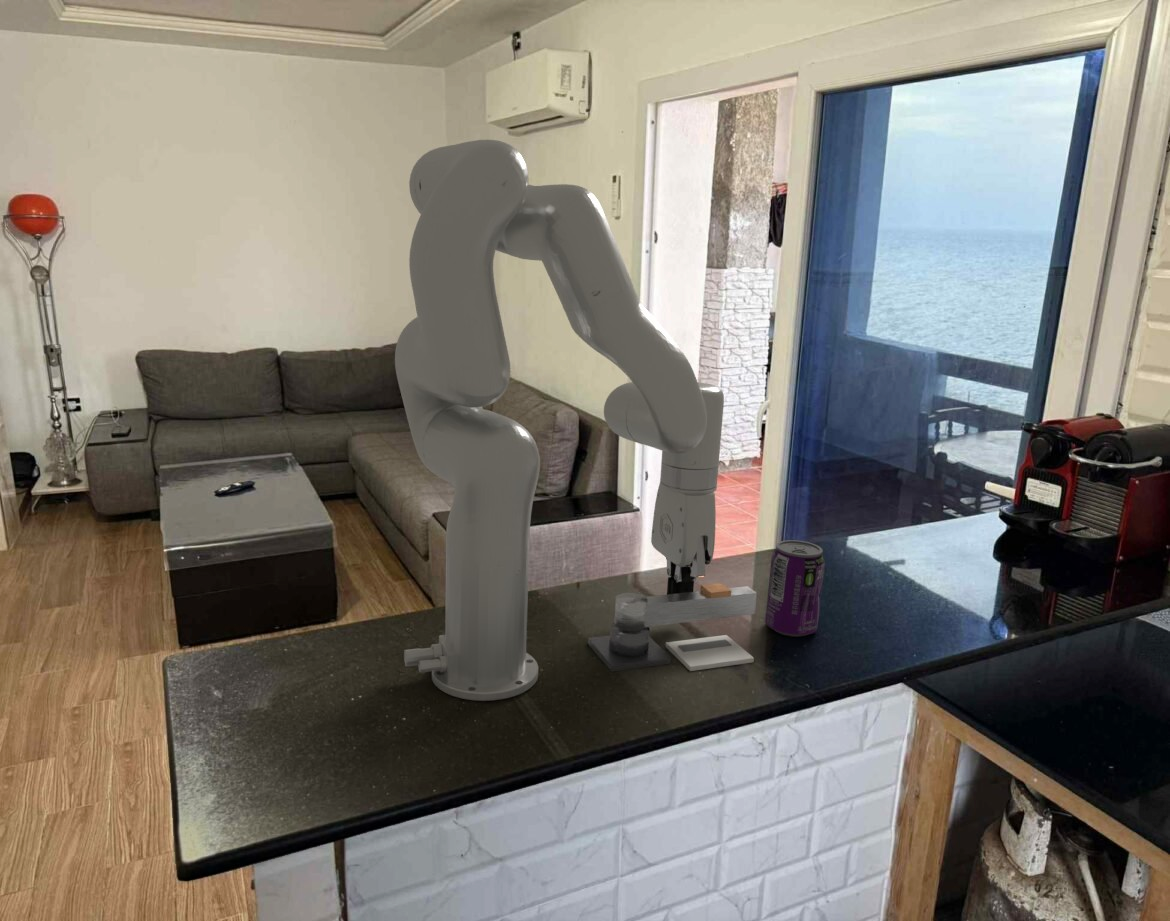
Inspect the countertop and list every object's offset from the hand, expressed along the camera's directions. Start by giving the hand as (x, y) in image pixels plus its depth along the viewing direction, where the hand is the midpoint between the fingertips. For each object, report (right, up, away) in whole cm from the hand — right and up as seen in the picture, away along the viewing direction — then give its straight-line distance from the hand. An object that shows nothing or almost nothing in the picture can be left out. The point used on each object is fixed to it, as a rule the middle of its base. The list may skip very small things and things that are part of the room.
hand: (679, 605), depth 119 cm
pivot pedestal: (-7, -5, -8) cm, 12 cm away
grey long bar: (0, -1, -6) cm, 6 cm away
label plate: (+3, -5, -7) cm, 10 cm away
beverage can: (+16, -4, +2) cm, 16 cm away
